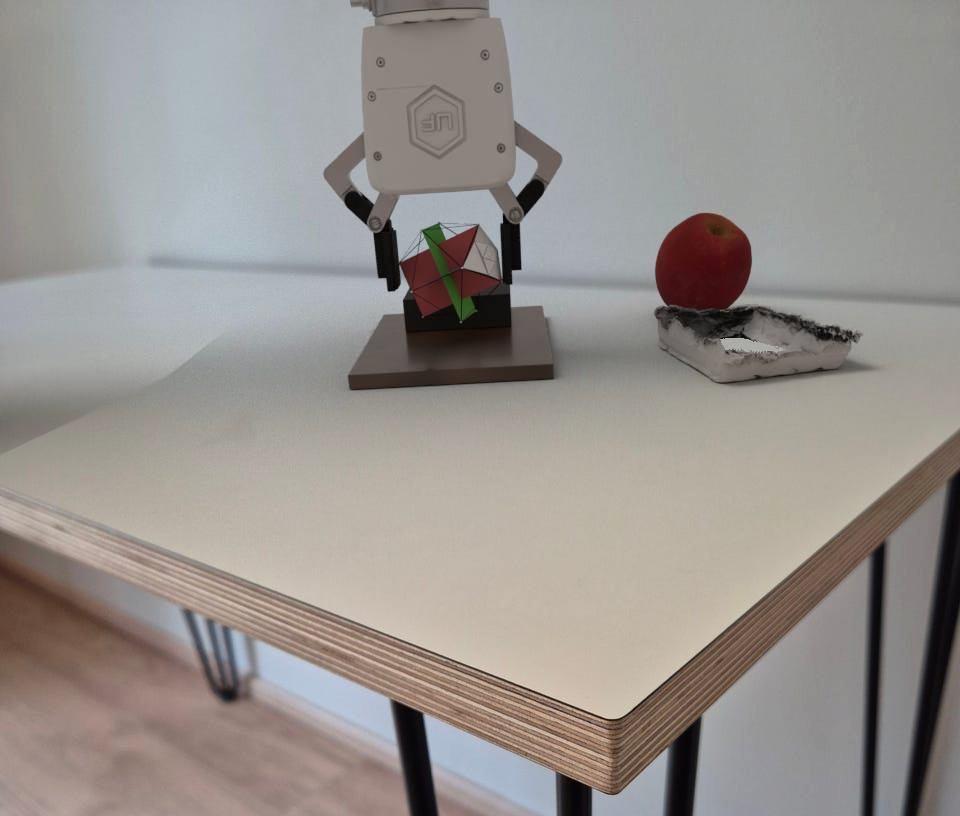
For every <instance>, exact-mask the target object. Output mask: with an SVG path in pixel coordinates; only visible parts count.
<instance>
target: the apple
mask: <svg viewBox="0 0 960 816" xmlns="http://www.w3.org/2000/svg"><path fill="white" fill-rule="evenodd" d="M752 254H753V253H752V246H751V242H750V239H749V237H748V235H746V232H744V231H743V229H741V228H740V227H739V226H738V225H736V224H735V223H734V222H733V221H732V220H730V219H729V218H728V217H726V216H724V215H721V214H718V213H712V212H698V213H696V214H693V215H691V216H689V217H687V218H685V219H684V220H682V221H681V222H680V223H678V224H677V225H675V226H674V227H673V228H672V229H671V230H670V231H668V233H667V234H666V236H665V237H664V238H663V240H662V243H661V244H660V246H659V249H658V251H657V254H656V258H655V259H656V260H655V266H654V274H655V275H654V278H655V279H654V280H655V284H656V287H657V292H658V295H659V296H660V299H661V300H662V301H663V303H664V304H665V306H666V307H667V306H669V305H676V306H679V307H683V308H692V309H695V310H697V311H702V310H706V309H711V308H714V309H729V308H730V307H731V306H732V305H733V304H734V303H736V301H737V300H738V299H739V298H740V297H741V295H742V294H743V293H744V290H746V287H747V284H748V282H749V280H750V276H751V271H752V264H753V255H752Z"/></svg>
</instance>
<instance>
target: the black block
mask: <svg viewBox="0 0 960 816" xmlns="http://www.w3.org/2000/svg"><path fill="white" fill-rule="evenodd" d="M502 280H503V279H502ZM498 284H499V283H498ZM498 284H495V285H493V286H491V287H489V288H486V289H484V290H482V291H480V295H479V292H478V293H475V294H473V295H471V296H470V297H471V300H472V302H473V304H474V307H476V306H477V300H478V295H479V300H478V304H479V303H480V302H481V301H482V300H483V299H484V298H485V297H486V296H487V295H488V294H489V293H490V292H491V291H492V290H493V289H494V288H495V287H496V286H497V285H498ZM491 293H492V294H491ZM491 293H490V294H491V295H490V294H489V295H490V296H489V295H488V296H489V297H488V296H487V297H488V298H487V297H486V298H485V299H484V300H483V301H482V302H481V303H480V304H479V305H478V306H477V312H474V313H473V314H471V315H470V316H469V317H467V318H466V319H465V320H463V321H462V323H460V321H461V320H460V318H459V316H458V314H457V313H456V312H457V311H456V309H455V307H454V304H451V305H449V306H447V307H445V308H442V309H441V310H438V311H436V312H433V313H431V314H429V315H427V316H430V317H428V318H425V317H424V318H422V314H421V312H420V310H419V307H418V305H417V303H416V301H415V299H414V297H413V294H412V293H411V290H410V288H409V287H408V290H407V291H406V294H405V295H404V297H403V299H402V307H403V308H402V309H403V313H404V319H405V330H406V332H418V331H436V330H453V329H471V328H489V327H506V326H511V325H512V324H511V307H512V297H511V295H512V294H511V285H506V284H505V283H503V282H501V283H500V284H499V286H498V287H497V288H496V289H495V290H493V291H492V292H491ZM483 302H484V303H483ZM482 303H483V304H482ZM481 304H482V305H481ZM480 305H481V306H480ZM479 306H480V307H479ZM475 309H476V308H475ZM442 310H443V311H445V312H446V313H456V314H449V315H448V314H447V315H439V314H446V313H445V312H443V311H442ZM431 315H439V316H431ZM450 315H451V316H453V317H454V318H453V317H451V316H450ZM433 318H436V319H433ZM455 318H456V319H458V320H459V322H456V321H458V320H456V319H455ZM440 319H443V320H440ZM448 320H451V321H448Z"/></svg>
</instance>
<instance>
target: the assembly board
mask: <svg viewBox="0 0 960 816" xmlns="http://www.w3.org/2000/svg"><path fill="white" fill-rule="evenodd" d="M511 324H512V325H511V326H506V327H489V328H471V329H453V330H436V331H418V332H406V330H405V319H404V312H403V313H389V314H387V313H386V314H383V315H382V317H381V318H380V319H379V322H378V324H377V325H376V327H375V328H374V329H373V332H372V334H371V335H370V337H369V338H368V340H367V342H366V344H365V345H364V347H363V349H362V351H361V352H360V354H359V356H358V358H357V359H356V361H355V362H354V364H353V366H352V368H351V370H350V371H349V373H348V374H347V380H348V381H347V382H348V388H349V390H369V389H385V388H386V389H387V388H405V387H421V386H422V387H423V386H424V387H425V386H440V385H444V386H445V385H459V384H462V385H463V384H476V383H477V384H479V383H480V384H481V383H497V382H517V381H534V380H553V379H554V378H555V374H554V373H555V372H554V371H555V369H554V360H553V354H552V350H551V344H550V340H549V334H548V333H549V332H548V328H547V323H546V317H545V311H544V307H543V305H529V306H528V305H527V306H524V305H523V306H511Z"/></svg>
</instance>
